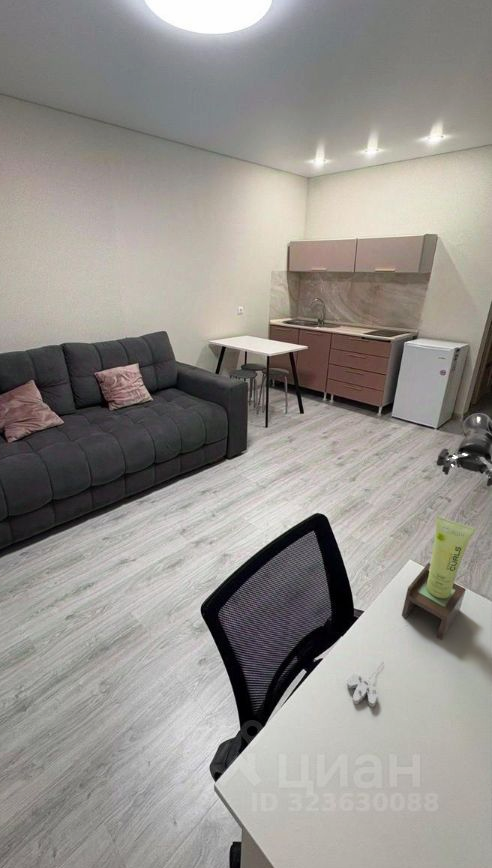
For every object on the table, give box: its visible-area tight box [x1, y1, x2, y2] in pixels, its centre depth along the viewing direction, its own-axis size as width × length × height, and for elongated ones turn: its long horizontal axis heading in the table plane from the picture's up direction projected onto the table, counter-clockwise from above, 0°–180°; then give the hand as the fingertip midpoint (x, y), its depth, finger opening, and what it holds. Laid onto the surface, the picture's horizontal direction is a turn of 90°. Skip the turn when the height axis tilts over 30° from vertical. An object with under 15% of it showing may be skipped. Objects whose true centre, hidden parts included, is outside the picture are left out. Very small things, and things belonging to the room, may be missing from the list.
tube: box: [427, 515, 476, 598], centre depth 91 cm, size 6×5×20 cm
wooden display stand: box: [401, 562, 466, 640], centre depth 95 cm, size 12×9×9 cm
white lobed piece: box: [346, 661, 384, 707], centre depth 81 cm, size 6×12×3 cm, turn 151°
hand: (467, 476), depth 92 cm, fingers open, 8 cm apart
